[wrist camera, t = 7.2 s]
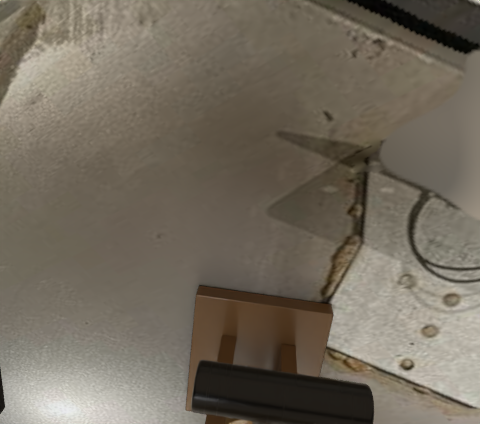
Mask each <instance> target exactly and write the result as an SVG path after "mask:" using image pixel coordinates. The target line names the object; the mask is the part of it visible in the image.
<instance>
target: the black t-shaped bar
mask: <svg viewBox="0 0 480 424" xmlns="http://www.w3.org/2000/svg"><path fill="white" fill-rule="evenodd" d="M191 410H192V411H193V412H194V413H200V414H207V415H213V416H220V417H226V418H233V419H240V420H246V421H253V423H252V424H373V420H374V401H373V395H372V391H371V389H370V387H369V386H368V385H367V384H363V383H357V382H350V381H343V380H337V379H330V378H323V377H317V376H310V375H303V374H296V373H290V372H283V371H276V370H270V369H263V368H256V367H249V366H243V365H236V364H229V363H223V362H216V361H209V360H200V361H199V363H198V366H197V370H196V375H195V380H194V386H193V392H192V400H191Z"/></svg>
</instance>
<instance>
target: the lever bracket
mask: <svg viewBox="0 0 480 424" xmlns="http://www.w3.org/2000/svg"><path fill="white" fill-rule="evenodd" d="M332 319H333V310H332V306H331V305H330V304H324V303H317V302H310V301H303V300H296V299H289V298H282V297H275V296H268V295H261V294H254V293H247V292H240V291H233V290H226V289H219V288H212V287H205V286H199V288H198V291H197V294H196V301H195V312H194V323H193V334H192V345H191V356H190V366H189V377H188V388H187V399H186V411H192V410H191V400H192V392H193V386H194V380H195V375H196V370H197V366H198V363H199V361H200V360H209V361H216V362H223V363H229V364H236V365H243V366H249V367H256V368H263V369H270V370H276V371H283V372H290V373H296V374H303V375H310V376H317V377H319V375H320V371H321V366H322V362H323V358H324V353H325V349H326V345H327V341H328V336H329V332H330V328H331V323H332ZM192 412H193V411H192ZM225 418H226V417H220V416H213V415H207V417H206V422H205V424H225Z"/></svg>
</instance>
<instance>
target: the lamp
mask: <svg viewBox="0 0 480 424" xmlns="http://www.w3.org/2000/svg"><path fill="white" fill-rule="evenodd" d="M252 423H253V421H246V420H240V419H233V418H225V424H252Z"/></svg>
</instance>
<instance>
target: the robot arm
mask: <svg viewBox="0 0 480 424" xmlns="http://www.w3.org/2000/svg"><path fill="white" fill-rule="evenodd" d="M4 408H5V403H4V394H3V386H2V378H1V369H0V414H1V412H2V411H3V410H4Z"/></svg>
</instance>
